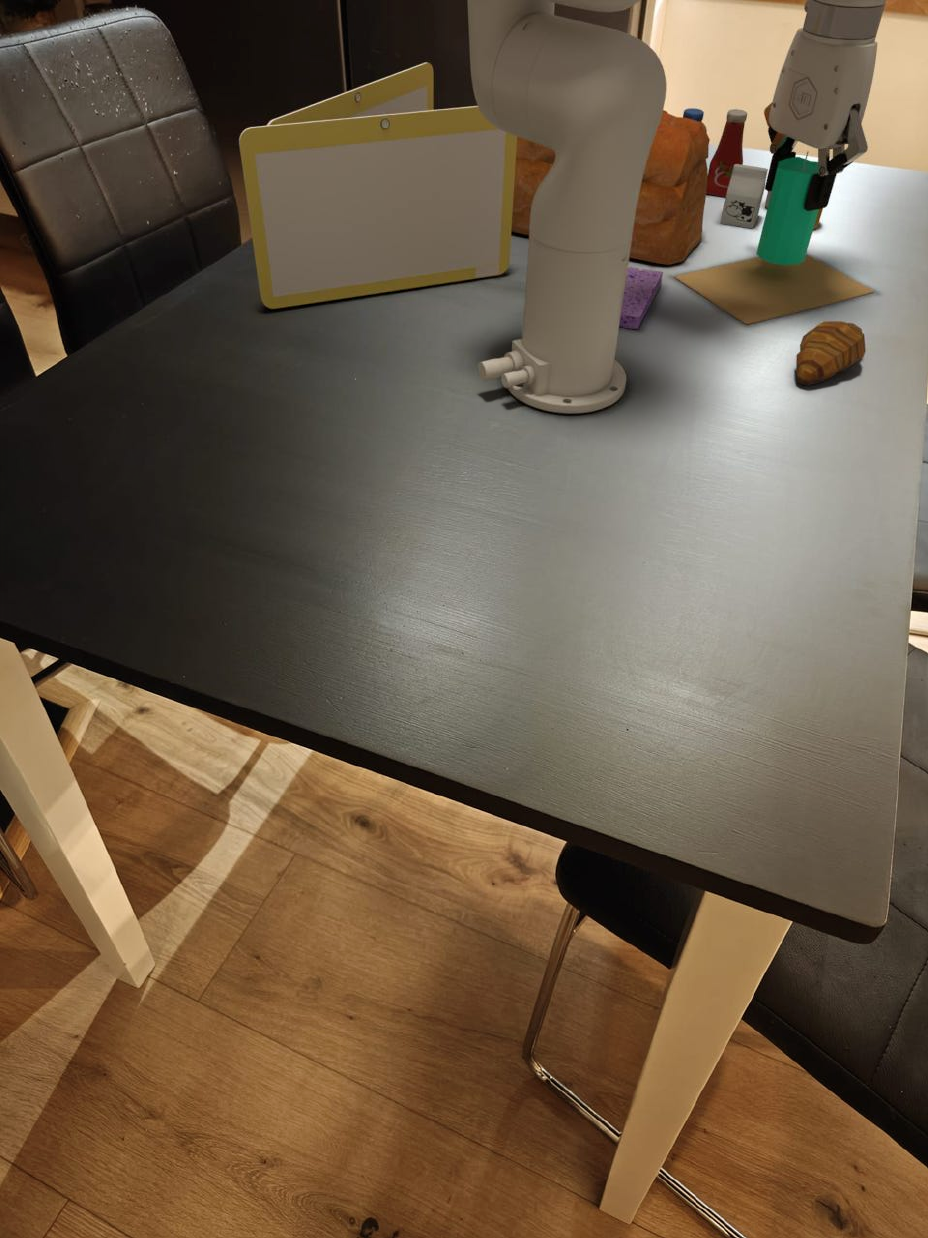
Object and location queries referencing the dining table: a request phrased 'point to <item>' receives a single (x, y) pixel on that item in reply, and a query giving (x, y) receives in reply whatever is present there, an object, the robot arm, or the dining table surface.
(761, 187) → the toy food
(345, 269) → the tabletop whiteboard easel
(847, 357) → the croissant
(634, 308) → the sponge
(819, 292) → the place mat
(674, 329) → the dining table surface
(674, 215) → the bread
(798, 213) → the candle
